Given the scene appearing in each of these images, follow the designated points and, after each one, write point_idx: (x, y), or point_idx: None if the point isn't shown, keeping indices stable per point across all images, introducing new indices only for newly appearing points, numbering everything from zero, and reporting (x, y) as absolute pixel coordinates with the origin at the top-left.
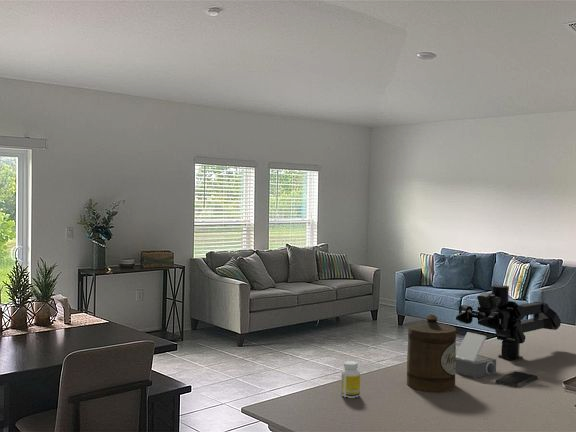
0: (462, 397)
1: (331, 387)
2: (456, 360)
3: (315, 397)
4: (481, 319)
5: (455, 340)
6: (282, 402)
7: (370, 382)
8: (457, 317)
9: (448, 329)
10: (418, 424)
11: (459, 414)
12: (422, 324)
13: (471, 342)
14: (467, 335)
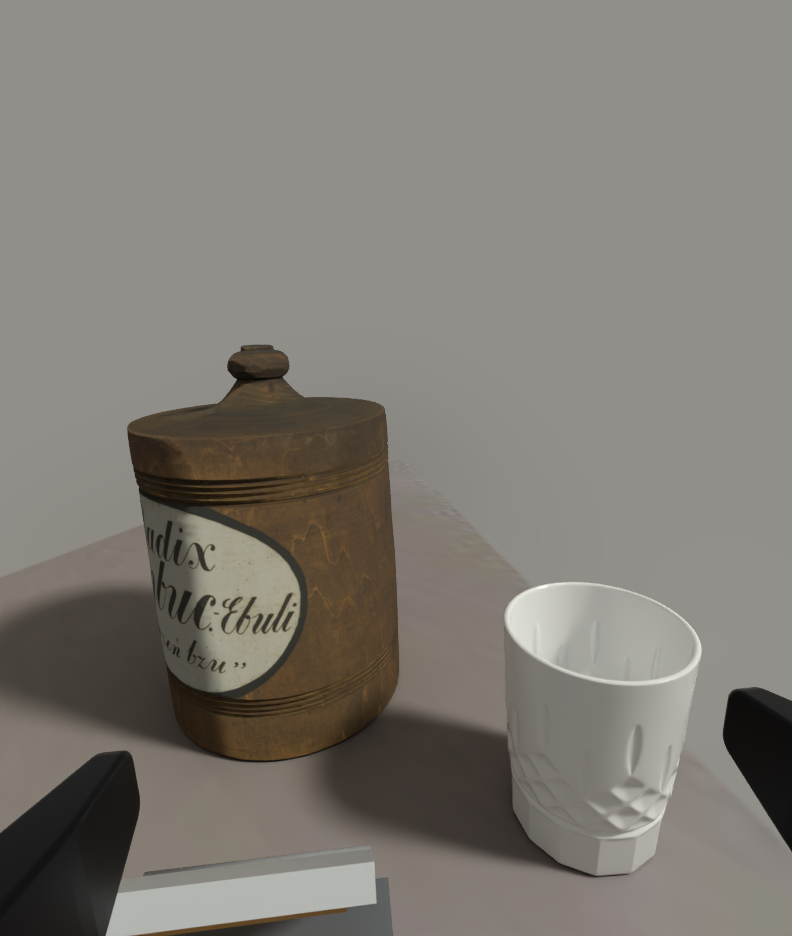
0: (93, 677)
1: (440, 520)
2: None
3: (393, 497)
4: (39, 845)
5: (143, 495)
6: (398, 476)
7: (436, 571)
8: (746, 720)
9: (164, 420)
10: (131, 535)
11: (53, 598)
12: (329, 405)
13: (224, 873)
14: (337, 862)
